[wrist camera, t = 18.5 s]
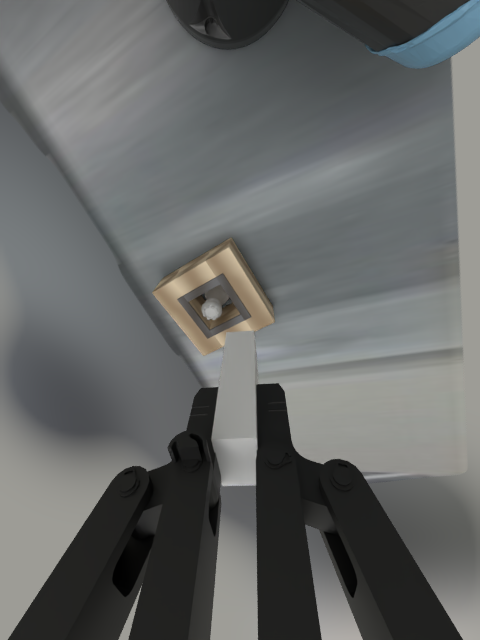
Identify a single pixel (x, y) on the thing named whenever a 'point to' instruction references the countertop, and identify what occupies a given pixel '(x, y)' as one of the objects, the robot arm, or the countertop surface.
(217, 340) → the socket block
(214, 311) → the rook chess piece
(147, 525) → the robot arm
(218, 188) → the countertop surface
